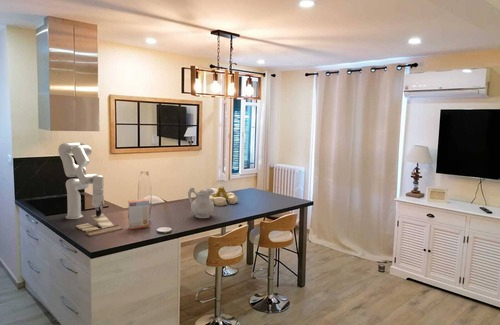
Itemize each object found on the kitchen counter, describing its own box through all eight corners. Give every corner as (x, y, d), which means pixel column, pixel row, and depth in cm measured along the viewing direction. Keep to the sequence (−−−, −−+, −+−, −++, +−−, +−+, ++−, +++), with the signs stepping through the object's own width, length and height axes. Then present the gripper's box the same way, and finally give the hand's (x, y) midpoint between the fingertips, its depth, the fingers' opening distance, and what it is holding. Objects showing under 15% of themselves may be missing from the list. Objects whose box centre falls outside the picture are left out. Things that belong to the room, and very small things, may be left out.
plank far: (91, 216, 276) (91, 215, 276) (102, 214, 283) (103, 213, 282) (102, 230, 266) (103, 228, 266) (114, 227, 273) (114, 226, 272)
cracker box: (147, 225, 281) (147, 198, 279) (149, 227, 276) (149, 200, 273) (128, 227, 274) (128, 200, 272) (130, 229, 269) (130, 201, 266)
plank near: (76, 227, 269) (76, 225, 269) (88, 224, 276) (88, 223, 276) (87, 233, 258) (87, 231, 257) (100, 230, 264) (100, 228, 264)
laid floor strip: (85, 234, 255) (85, 231, 255) (117, 227, 274) (117, 224, 274) (90, 236, 251) (90, 234, 251) (122, 229, 269) (122, 226, 269)
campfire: (216, 207, 344) (216, 190, 342) (195, 200, 369) (196, 184, 367) (244, 203, 368) (244, 186, 366) (223, 196, 393) (223, 181, 390)
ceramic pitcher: (191, 221, 299) (192, 192, 294) (185, 213, 316) (186, 185, 312) (216, 219, 308) (218, 191, 304) (208, 212, 326) (210, 185, 321)
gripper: (88, 190, 278) (89, 214, 280) (98, 193, 268) (98, 218, 270) (98, 189, 283) (98, 212, 286) (108, 192, 274) (108, 216, 276)
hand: (98, 215), depth 278 cm, fingers closed
